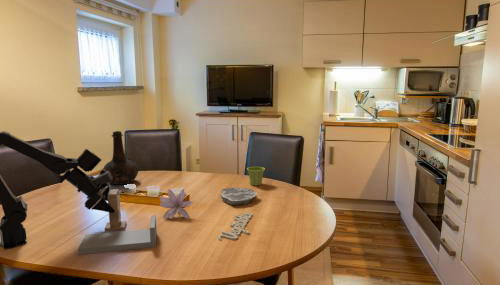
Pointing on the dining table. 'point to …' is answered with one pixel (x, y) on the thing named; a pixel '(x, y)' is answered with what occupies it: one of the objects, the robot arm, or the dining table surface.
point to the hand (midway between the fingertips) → (116, 207)
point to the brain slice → (237, 195)
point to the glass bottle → (120, 163)
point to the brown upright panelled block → (115, 217)
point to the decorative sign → (237, 227)
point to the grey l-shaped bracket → (119, 240)
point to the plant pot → (255, 175)
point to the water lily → (175, 204)
